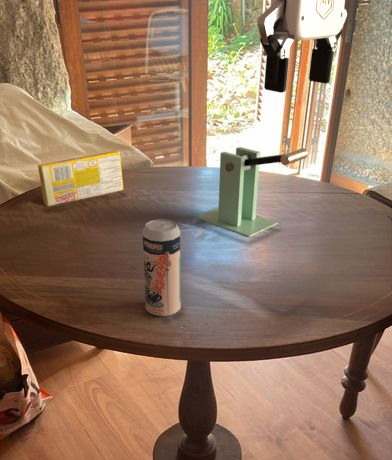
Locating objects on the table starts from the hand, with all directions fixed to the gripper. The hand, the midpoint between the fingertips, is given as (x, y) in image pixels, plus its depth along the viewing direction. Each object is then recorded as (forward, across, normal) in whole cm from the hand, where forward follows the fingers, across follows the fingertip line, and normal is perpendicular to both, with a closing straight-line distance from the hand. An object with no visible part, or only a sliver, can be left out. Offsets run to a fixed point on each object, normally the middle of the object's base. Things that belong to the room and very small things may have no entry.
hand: (297, 86), depth 77 cm
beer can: (+25, -25, 0) cm, 35 cm away
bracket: (+25, +4, +13) cm, 28 cm away
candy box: (+25, -9, +41) cm, 49 cm away
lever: (+13, +4, +7) cm, 16 cm away
